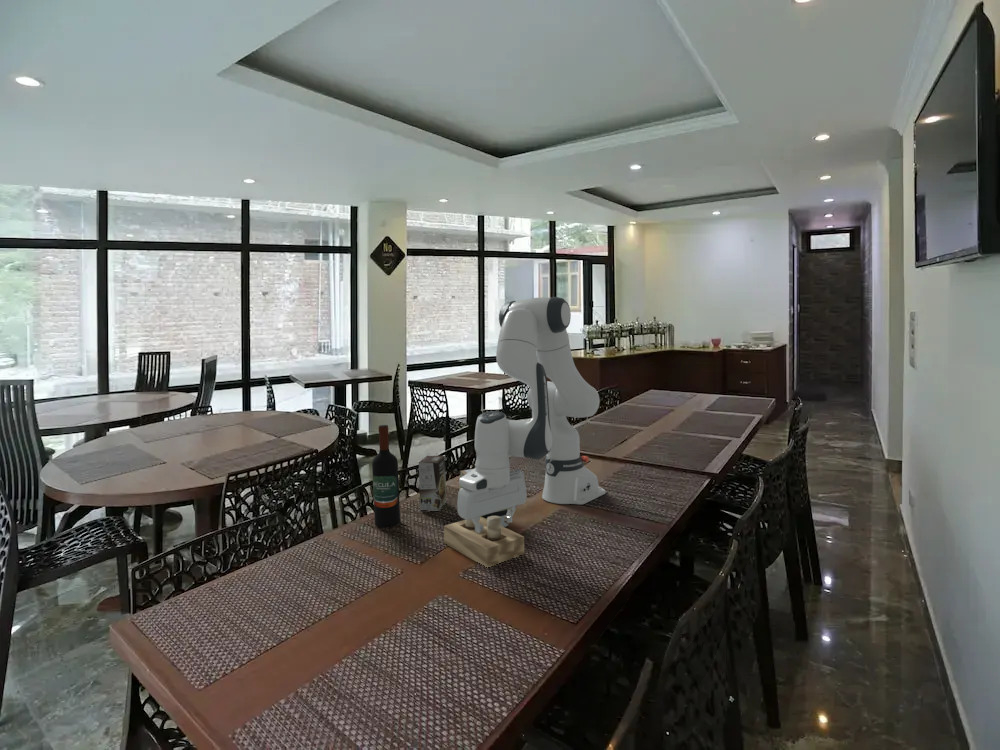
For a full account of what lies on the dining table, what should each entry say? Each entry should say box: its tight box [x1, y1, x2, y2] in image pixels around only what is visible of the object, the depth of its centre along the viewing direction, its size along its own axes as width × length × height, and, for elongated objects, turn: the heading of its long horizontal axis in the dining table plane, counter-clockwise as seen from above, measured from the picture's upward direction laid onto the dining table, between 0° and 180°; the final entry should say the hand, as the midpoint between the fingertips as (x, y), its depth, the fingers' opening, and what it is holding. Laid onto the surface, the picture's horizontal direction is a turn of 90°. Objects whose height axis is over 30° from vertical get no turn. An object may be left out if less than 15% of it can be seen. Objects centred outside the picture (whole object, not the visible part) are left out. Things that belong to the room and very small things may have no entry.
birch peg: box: [487, 516, 501, 542], centre depth 152 cm, size 4×4×10 cm
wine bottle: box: [371, 424, 401, 529], centre depth 175 cm, size 8×8×30 cm
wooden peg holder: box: [443, 516, 525, 569], centre depth 156 cm, size 12×20×10 cm, turn 38°
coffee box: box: [418, 455, 447, 512], centre depth 189 cm, size 9×6×16 cm
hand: (494, 527), depth 152 cm, fingers open, 8 cm apart
